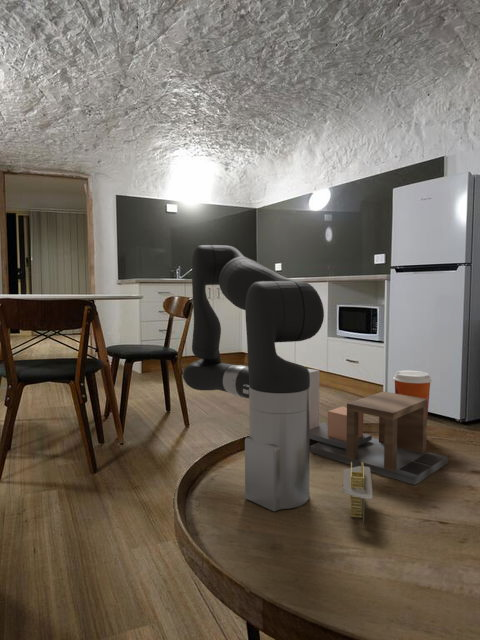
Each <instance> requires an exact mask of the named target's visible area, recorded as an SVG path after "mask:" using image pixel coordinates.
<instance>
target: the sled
mask: <svg viewBox="0 0 480 640" xmlns="http://www.w3.org/2000/svg"><path fill="white" fill-rule="evenodd" d="M307 369H308V371H309V374H310V440H313V441H317V442H318V443H319V442H323V443H326V444H330V445H333V446H337V447H340V448H344V449H346V445H347V406H339V407H336V408H334V409H330V410H327V423H326V422H321V421H320V370H318V369H313V368H307ZM364 415H365V414H364V413H359V417H358V446H360V445H362V444H364V443H366V442H368V441H371V440H372V438H373V436H372V434H369V433H366V432H365V433H364V417H365V416H364Z"/></svg>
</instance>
